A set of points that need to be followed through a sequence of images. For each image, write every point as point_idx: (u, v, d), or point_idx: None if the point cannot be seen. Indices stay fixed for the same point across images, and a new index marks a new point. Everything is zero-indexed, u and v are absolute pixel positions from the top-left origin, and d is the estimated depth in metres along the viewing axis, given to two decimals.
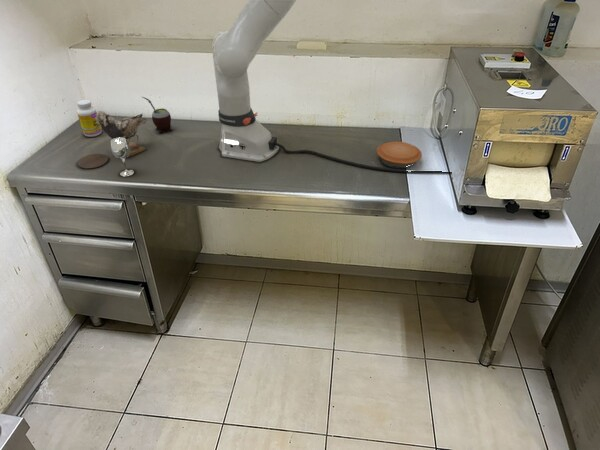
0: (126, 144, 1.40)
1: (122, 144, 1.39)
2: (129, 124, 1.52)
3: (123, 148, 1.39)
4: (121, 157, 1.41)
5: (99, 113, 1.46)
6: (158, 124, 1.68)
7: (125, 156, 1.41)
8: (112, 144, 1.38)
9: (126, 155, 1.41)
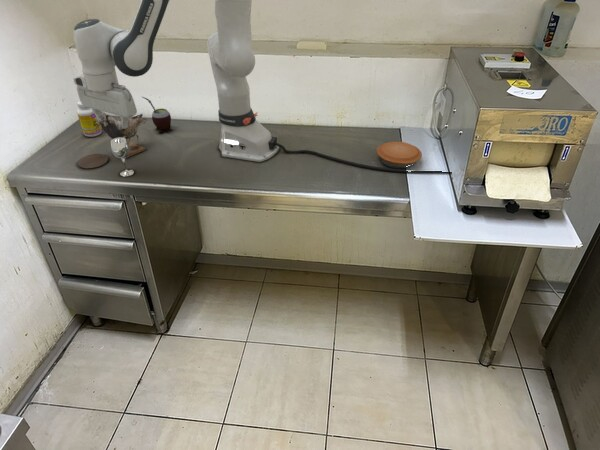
0: (126, 144, 1.40)
1: (122, 144, 1.39)
2: (129, 124, 1.52)
3: (123, 148, 1.39)
4: (121, 157, 1.41)
5: None
6: (158, 124, 1.68)
7: (125, 156, 1.41)
8: (112, 144, 1.38)
9: (126, 155, 1.41)
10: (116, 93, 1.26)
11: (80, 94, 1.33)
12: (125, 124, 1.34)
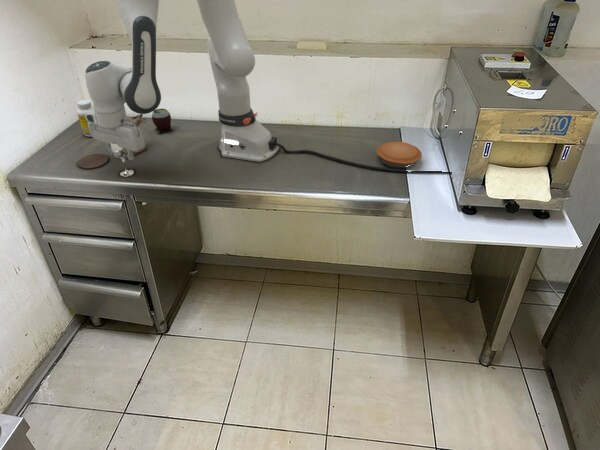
0: None
1: None
2: None
3: (122, 148, 1.39)
4: (121, 157, 1.41)
5: None
6: (158, 124, 1.68)
7: (125, 156, 1.41)
8: (112, 144, 1.38)
9: None
10: (125, 129, 1.32)
11: (91, 129, 1.40)
12: (131, 156, 1.41)
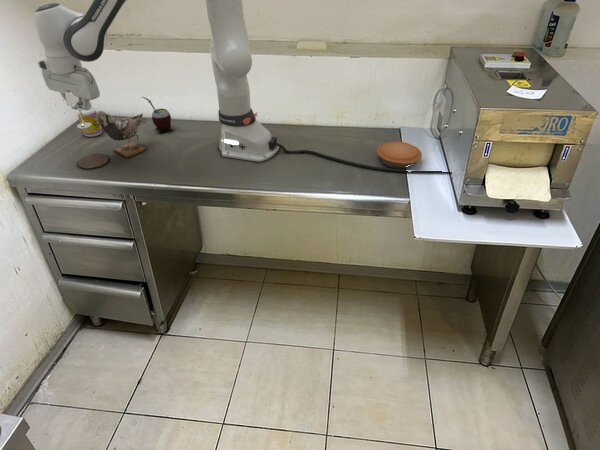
0: None
1: None
2: (129, 124, 1.52)
3: (77, 98, 1.36)
4: (76, 107, 1.37)
5: (99, 113, 1.46)
6: (158, 124, 1.68)
7: (81, 106, 1.38)
8: (66, 93, 1.35)
9: None
10: (78, 75, 1.29)
11: (45, 78, 1.36)
12: (87, 106, 1.38)
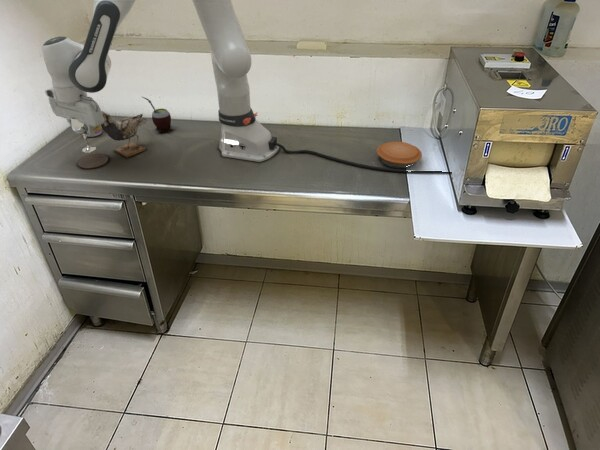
0: None
1: None
2: (129, 124, 1.52)
3: (83, 124, 1.42)
4: (82, 133, 1.43)
5: None
6: (158, 124, 1.68)
7: (86, 132, 1.44)
8: (72, 120, 1.41)
9: None
10: (84, 104, 1.35)
11: (52, 105, 1.43)
12: (92, 132, 1.44)
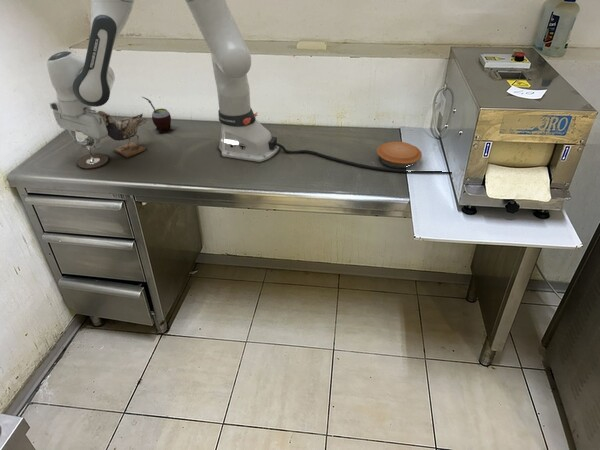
0: None
1: None
2: (129, 124, 1.52)
3: (87, 137, 1.45)
4: (86, 145, 1.46)
5: (99, 113, 1.46)
6: (158, 124, 1.68)
7: (90, 144, 1.47)
8: (77, 132, 1.44)
9: (91, 143, 1.47)
10: (88, 117, 1.38)
11: (56, 117, 1.45)
12: (98, 144, 1.46)
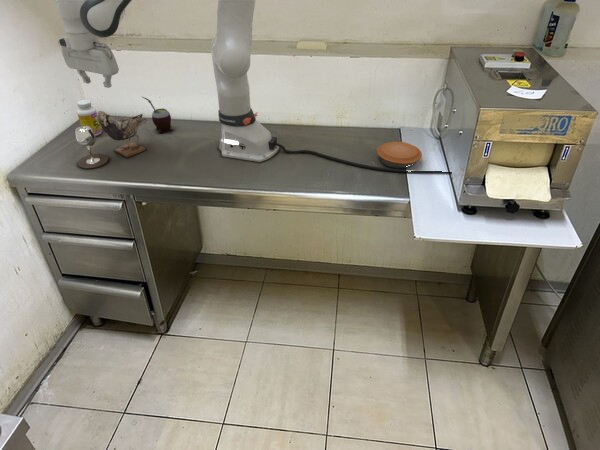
0: (90, 132, 1.46)
1: (86, 132, 1.44)
2: (129, 124, 1.52)
3: (87, 137, 1.45)
4: (86, 145, 1.46)
5: (99, 113, 1.46)
6: (158, 124, 1.68)
7: (90, 144, 1.47)
8: (77, 132, 1.44)
9: (91, 143, 1.47)
10: (98, 51, 1.32)
11: (65, 56, 1.39)
12: (109, 83, 1.40)
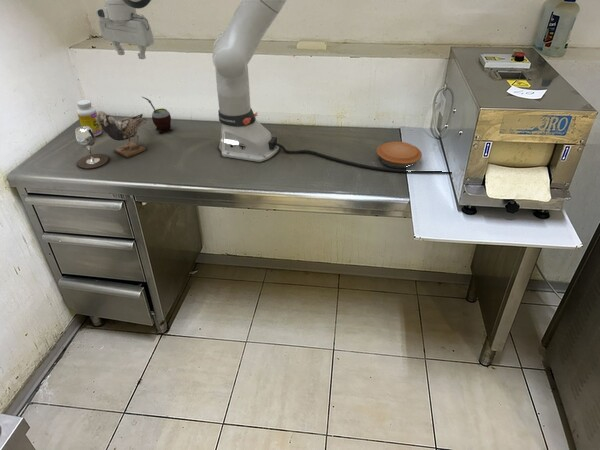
0: (90, 132, 1.46)
1: (86, 132, 1.44)
2: (129, 124, 1.52)
3: (87, 137, 1.45)
4: (86, 145, 1.46)
5: (99, 113, 1.46)
6: (158, 124, 1.68)
7: (90, 144, 1.47)
8: (77, 132, 1.44)
9: (91, 143, 1.47)
10: (135, 22, 1.36)
11: (101, 27, 1.44)
12: (143, 55, 1.45)
